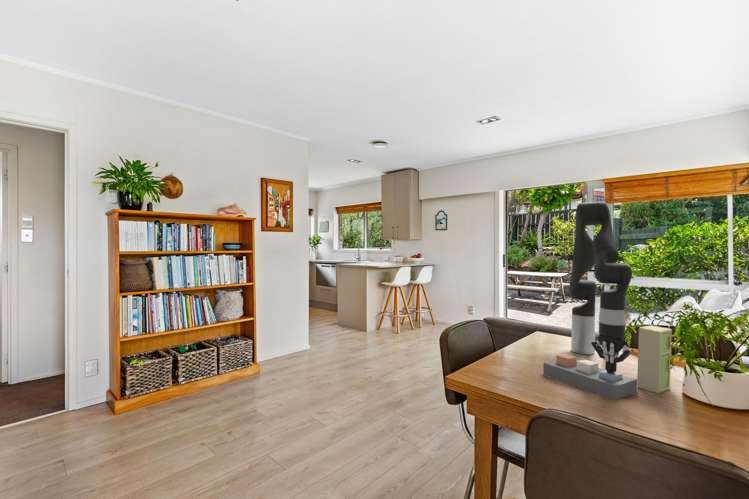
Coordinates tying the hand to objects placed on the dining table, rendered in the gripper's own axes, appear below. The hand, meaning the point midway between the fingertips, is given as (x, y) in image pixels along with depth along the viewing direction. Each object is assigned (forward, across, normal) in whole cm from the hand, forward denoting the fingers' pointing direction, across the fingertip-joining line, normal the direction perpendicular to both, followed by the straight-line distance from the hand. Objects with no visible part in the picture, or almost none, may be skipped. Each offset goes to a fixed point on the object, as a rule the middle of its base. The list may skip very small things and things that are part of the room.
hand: (610, 372), depth 125 cm
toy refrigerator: (+6, -6, -16) cm, 18 cm away
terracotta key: (+3, +16, 0) cm, 16 cm away
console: (+6, +8, 0) cm, 10 cm away
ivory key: (+3, +8, 0) cm, 8 cm away
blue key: (+4, 0, 0) cm, 4 cm away
